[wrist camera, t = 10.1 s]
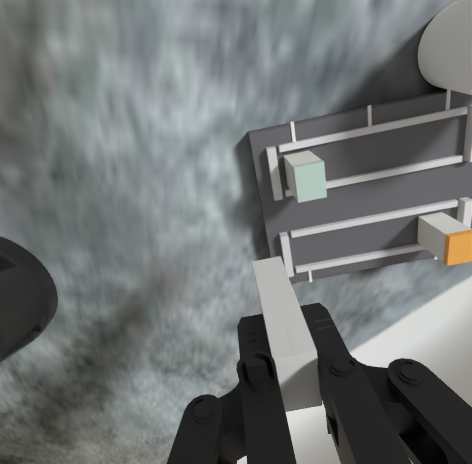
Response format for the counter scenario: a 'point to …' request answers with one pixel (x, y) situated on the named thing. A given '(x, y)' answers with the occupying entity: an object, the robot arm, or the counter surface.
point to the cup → (448, 48)
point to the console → (366, 183)
